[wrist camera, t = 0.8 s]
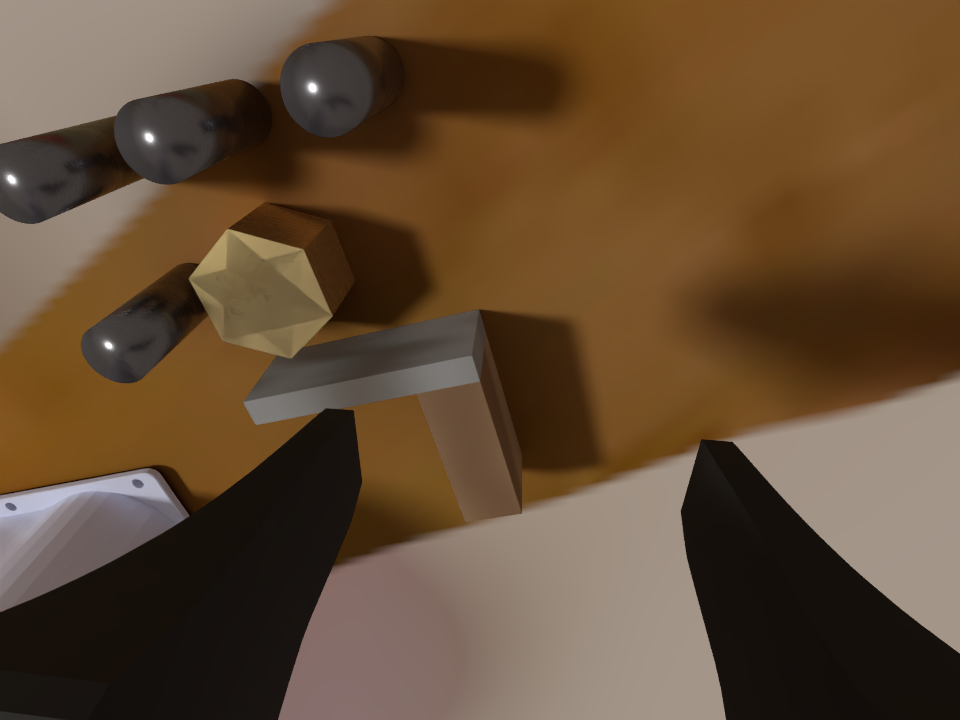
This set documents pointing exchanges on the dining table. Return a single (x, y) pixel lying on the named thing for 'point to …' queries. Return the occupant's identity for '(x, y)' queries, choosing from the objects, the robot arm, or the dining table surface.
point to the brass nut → (273, 279)
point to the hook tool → (439, 387)
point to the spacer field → (184, 170)
